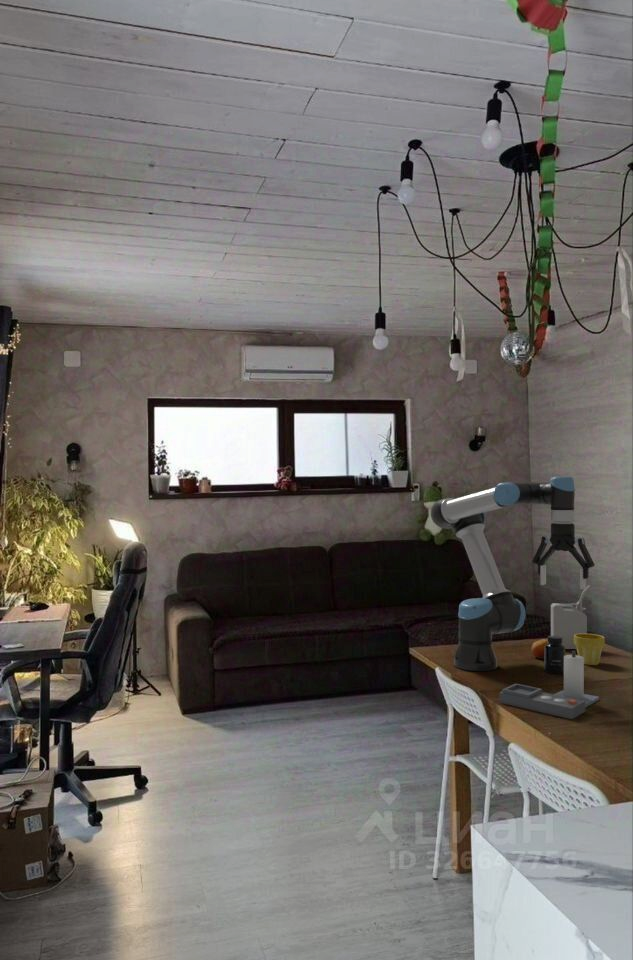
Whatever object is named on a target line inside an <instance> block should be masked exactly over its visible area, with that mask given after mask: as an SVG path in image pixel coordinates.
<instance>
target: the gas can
mask: <svg viewBox="0 0 633 960" xmlns="http://www.w3.org/2000/svg"><path fill="white" fill-rule="evenodd" d="M591 587H592V586H591V585H590V584H588V586H586V588H585V589H583V591H582V592H581V594H580V597H579V600H578V601H577V602H573V603H555V602H554V603H551V604H550V636H559V637H562V645H563V646H564V647H565V649H576V650H575V651H577V648H576V645H575V644H574V635H575V634H582V633H585V634H588V616H587V615H586V613H584V612H583V611H584V610H586V609H587V608H586V607H583V600H584V597H585V594H586V593H587V592H588V591H589V589H590V588H591Z"/></svg>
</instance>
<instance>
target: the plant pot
mask: <svg viewBox="0 0 633 960" xmlns="http://www.w3.org/2000/svg"><path fill="white" fill-rule="evenodd" d="M605 642H606V641H605V636H603V635H600V634H594V633H587V634H585V633H582V634H575V635H574V644H575V645H576V648H577V650H576V652H577V655H578V656H582V657H584V665H588V666H598V665H599V664H600V660H601V656H602V651H603V648H605Z"/></svg>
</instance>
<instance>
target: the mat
mask: <svg viewBox="0 0 633 960" xmlns="http://www.w3.org/2000/svg"><path fill="white" fill-rule="evenodd" d="M553 694H554V695H559V696H563V697H564V689H561V690H560V691H558V692H556V693H553ZM581 700H582V701H585V708H587V707H588V706H591V705H592V704H594V703H596V702H598V701H599V700H600V696H596V695H591V694H586V693H584V698H583V699H581Z"/></svg>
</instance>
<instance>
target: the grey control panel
mask: <svg viewBox="0 0 633 960" xmlns="http://www.w3.org/2000/svg"><path fill="white" fill-rule="evenodd" d="M498 693H499V699H498V700H499V703H500V704H502V705H503V704H504V705H508V706H513V707H517V708H521V709H526V710H528V711H529V710H530V711H533V712H538V713H539V712H540V713H543V714H547V715H551V716H556V717H559V718H560V717H561V718H564V719H569V720H573V719H575V718H577V717H579V716H580V715H582V714H584V713H585V712H586V707H585V701H582V700H578V699H573V698H568V697H563V696H559V695H554V694H555V693H549V692H544V691H543V689H542V688H540V687H534V686H531V685H525V684H520V683H514V684H511V685H509V686H507V687H505V688H502V691H500V692H498Z"/></svg>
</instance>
